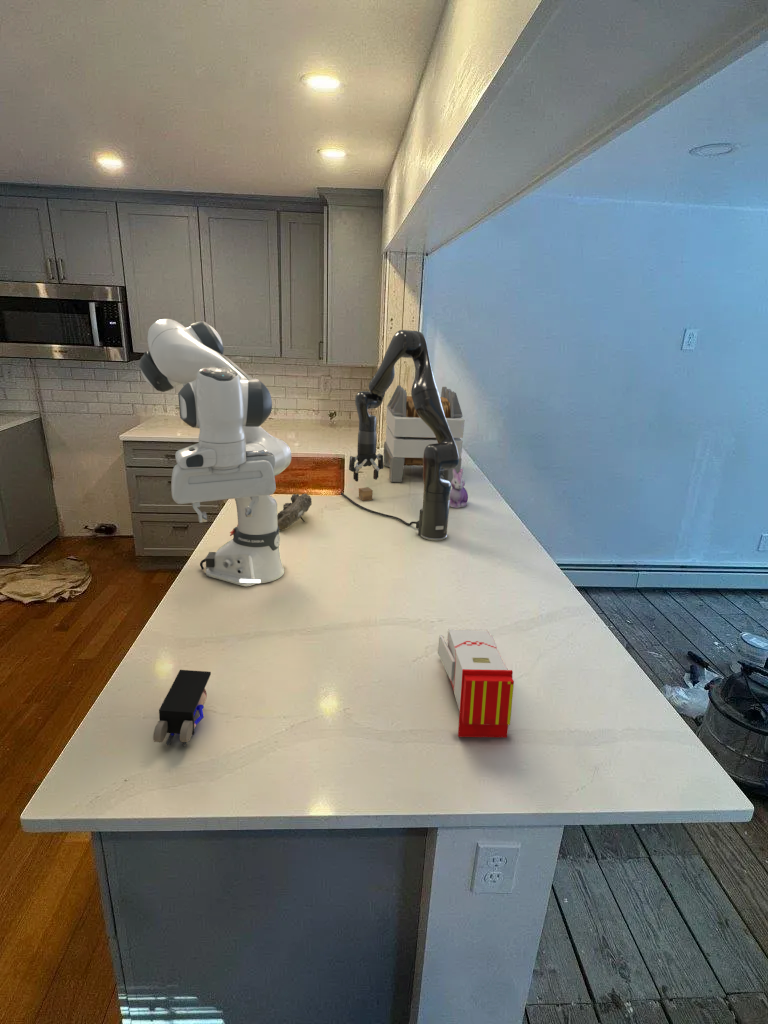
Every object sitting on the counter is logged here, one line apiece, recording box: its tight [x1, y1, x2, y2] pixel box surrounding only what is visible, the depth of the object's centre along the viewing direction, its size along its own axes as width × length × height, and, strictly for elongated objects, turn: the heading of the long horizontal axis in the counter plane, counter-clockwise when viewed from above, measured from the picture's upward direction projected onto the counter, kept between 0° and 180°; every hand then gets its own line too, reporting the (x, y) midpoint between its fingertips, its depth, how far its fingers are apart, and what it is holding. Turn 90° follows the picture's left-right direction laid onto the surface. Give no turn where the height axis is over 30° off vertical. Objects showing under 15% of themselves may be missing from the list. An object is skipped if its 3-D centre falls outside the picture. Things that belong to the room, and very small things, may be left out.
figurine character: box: [152, 669, 212, 747], centre depth 104 cm, size 7×8×15 cm
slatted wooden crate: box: [383, 384, 465, 483], centre depth 268 cm, size 34×33×41 cm
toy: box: [437, 628, 515, 738], centre depth 117 cm, size 12×13×30 cm
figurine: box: [449, 468, 469, 509], centre depth 230 cm, size 9×10×15 cm
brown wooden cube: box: [358, 486, 374, 502], centre depth 234 cm, size 4×4×4 cm
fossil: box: [277, 493, 313, 531], centre depth 205 cm, size 22×10×15 cm
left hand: (226, 518), depth 116 cm, fingers open, 8 cm apart
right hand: (365, 480), depth 232 cm, fingers open, 8 cm apart
